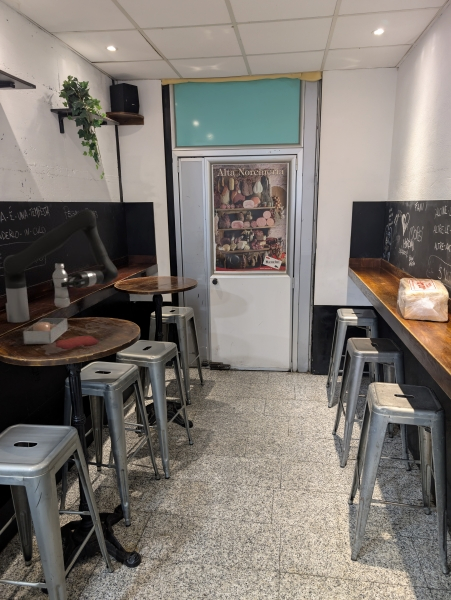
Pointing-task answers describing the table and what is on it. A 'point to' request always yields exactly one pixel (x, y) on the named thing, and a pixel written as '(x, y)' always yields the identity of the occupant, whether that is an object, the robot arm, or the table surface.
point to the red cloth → (76, 342)
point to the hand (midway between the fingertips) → (56, 284)
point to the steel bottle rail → (46, 337)
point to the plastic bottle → (60, 292)
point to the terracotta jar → (41, 326)
